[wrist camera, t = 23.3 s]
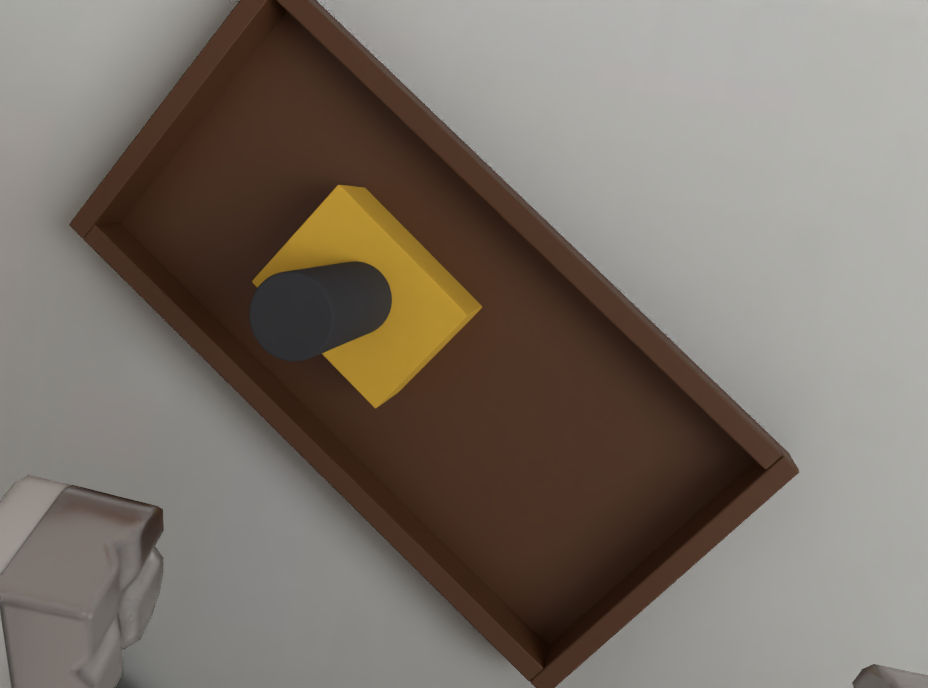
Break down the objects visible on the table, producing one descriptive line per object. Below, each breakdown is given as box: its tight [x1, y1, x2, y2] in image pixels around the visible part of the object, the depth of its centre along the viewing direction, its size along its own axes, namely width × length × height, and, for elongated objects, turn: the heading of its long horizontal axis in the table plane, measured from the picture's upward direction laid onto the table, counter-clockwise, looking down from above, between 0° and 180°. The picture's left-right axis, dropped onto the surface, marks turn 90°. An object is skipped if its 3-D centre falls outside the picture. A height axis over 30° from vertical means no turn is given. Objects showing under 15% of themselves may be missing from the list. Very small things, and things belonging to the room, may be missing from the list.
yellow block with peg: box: [249, 185, 482, 408], centre depth 29 cm, size 6×5×9 cm
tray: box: [69, 0, 799, 688], centre depth 33 cm, size 26×13×2 cm, turn 47°
